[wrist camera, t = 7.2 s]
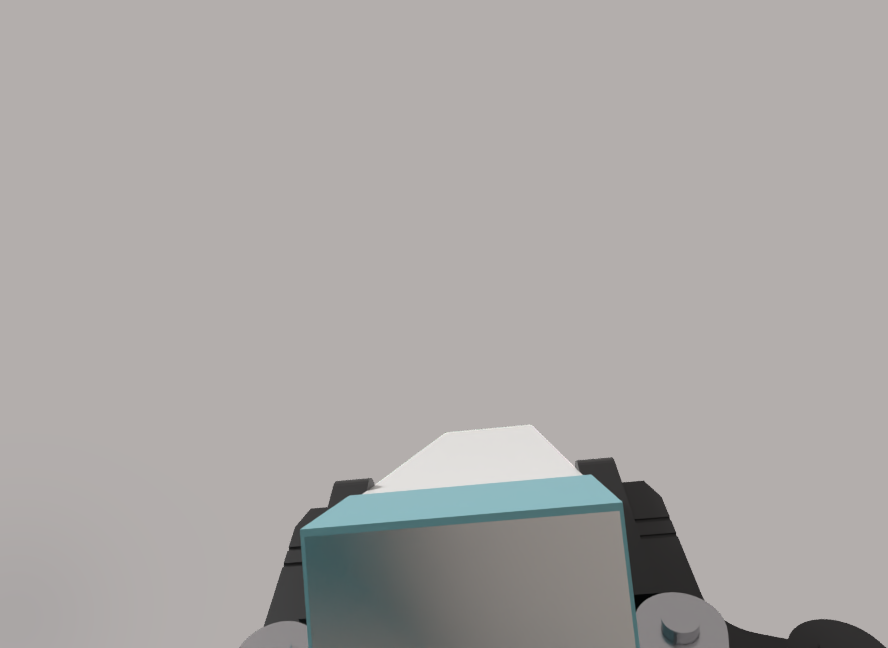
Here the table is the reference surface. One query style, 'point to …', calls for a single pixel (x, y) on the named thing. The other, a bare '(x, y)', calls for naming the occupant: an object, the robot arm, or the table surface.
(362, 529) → the white teal square bar
